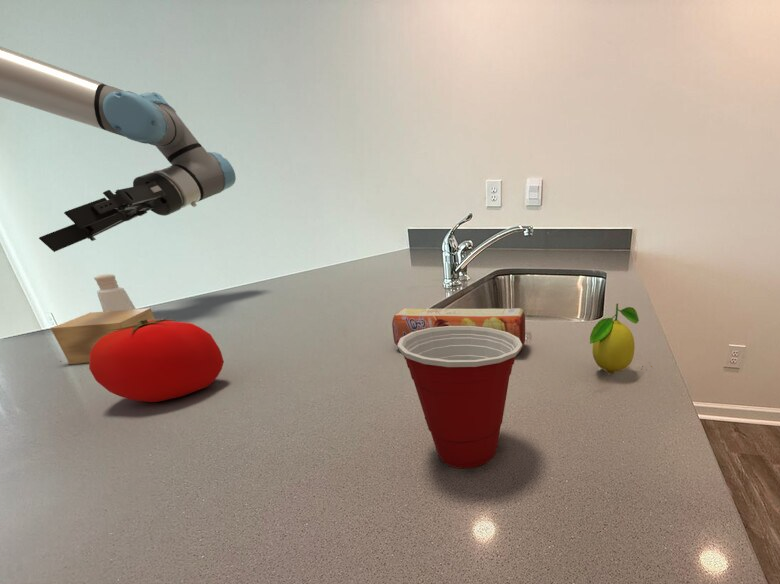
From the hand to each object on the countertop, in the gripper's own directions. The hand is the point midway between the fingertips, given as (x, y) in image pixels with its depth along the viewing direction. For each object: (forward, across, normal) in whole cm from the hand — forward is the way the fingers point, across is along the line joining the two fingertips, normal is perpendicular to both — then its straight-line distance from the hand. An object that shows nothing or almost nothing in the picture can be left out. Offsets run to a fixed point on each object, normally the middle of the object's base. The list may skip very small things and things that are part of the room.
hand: (59, 233), depth 70 cm
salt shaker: (+4, +2, -18) cm, 19 cm away
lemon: (-1, -83, -49) cm, 96 cm away
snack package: (-4, -59, -42) cm, 72 cm away
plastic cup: (+21, -74, -39) cm, 86 cm away
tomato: (+20, -32, -25) cm, 46 cm away
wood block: (+11, -8, -19) cm, 23 cm away
